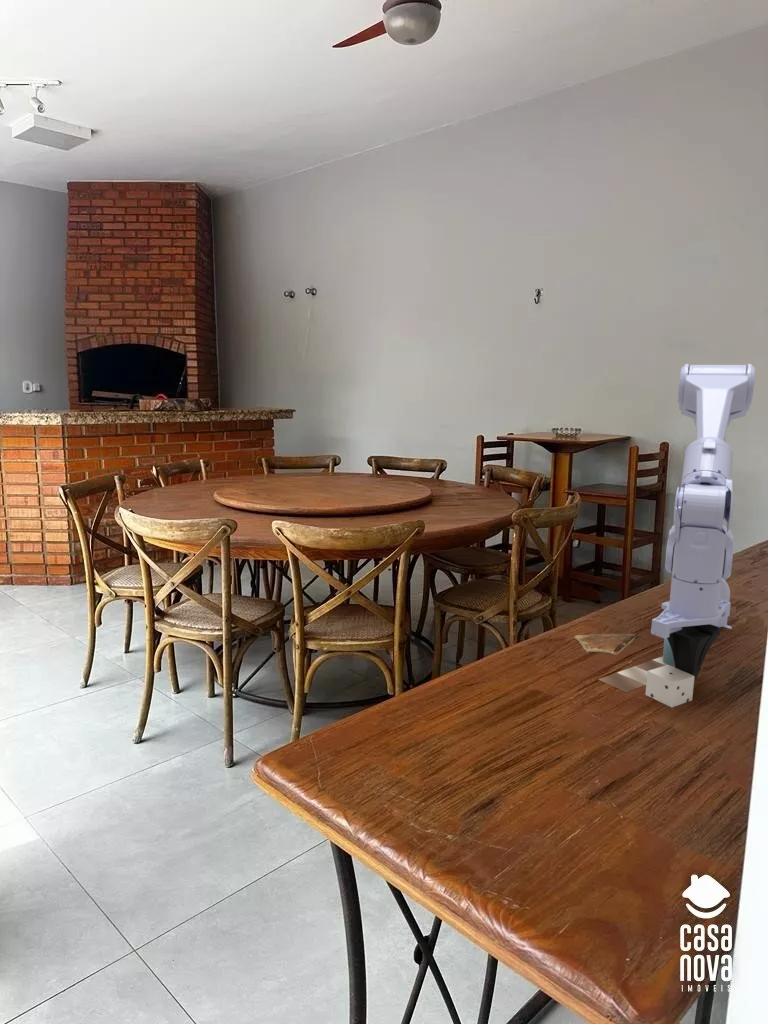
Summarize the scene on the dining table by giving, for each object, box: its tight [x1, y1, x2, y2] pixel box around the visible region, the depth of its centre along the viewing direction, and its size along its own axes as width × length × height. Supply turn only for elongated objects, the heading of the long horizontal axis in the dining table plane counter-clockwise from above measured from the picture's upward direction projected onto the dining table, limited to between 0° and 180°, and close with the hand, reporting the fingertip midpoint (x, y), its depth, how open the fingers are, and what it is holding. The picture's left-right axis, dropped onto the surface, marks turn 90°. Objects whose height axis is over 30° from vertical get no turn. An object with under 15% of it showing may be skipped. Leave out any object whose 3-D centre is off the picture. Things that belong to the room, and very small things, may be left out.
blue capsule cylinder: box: [662, 638, 675, 666], centre depth 99 cm, size 3×3×6 cm
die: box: [645, 665, 695, 708], centre depth 89 cm, size 4×4×4 cm
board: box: [598, 655, 675, 693], centre depth 96 cm, size 16×5×1 cm, turn 124°
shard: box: [574, 632, 640, 656], centre depth 106 cm, size 11×8×2 cm
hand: (686, 677), depth 90 cm, fingers closed
